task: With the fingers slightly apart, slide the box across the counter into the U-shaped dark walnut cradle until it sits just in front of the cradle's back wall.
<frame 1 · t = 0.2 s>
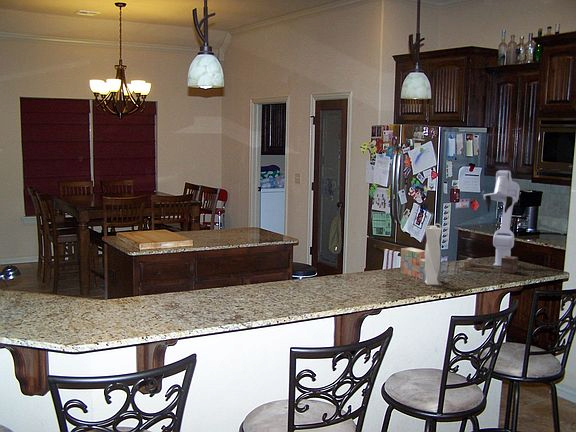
hand: (496, 210, 305), 31 cm above the breakfast bar, tool tilted 45°, fingers open, 7 cm apart
stack of blocks: (418, 276, 306), on the breakfast bar
cradle: (480, 268, 324), on the breakfast bar
skyscraper: (432, 284, 291), on the breakfast bar
box: (509, 272, 317), on the breakfast bar
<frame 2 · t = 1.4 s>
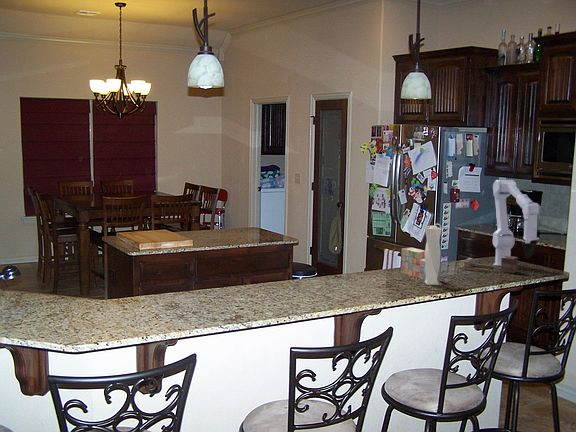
hand: (529, 256, 312), 9 cm above the breakfast bar, tool pointing down, fingers open, 7 cm apart
nothing on the breakfast bar moved.
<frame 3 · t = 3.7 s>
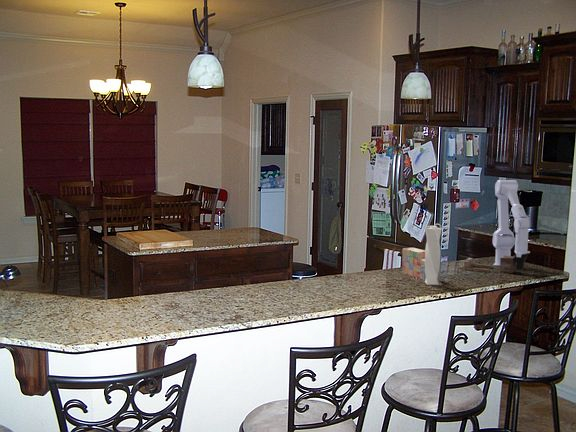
hand: (520, 269, 314), 2 cm above the breakfast bar, tool pointing down, fingers closed
box: (508, 272, 317), on the breakfast bar, touching gripper
everything else where it was.
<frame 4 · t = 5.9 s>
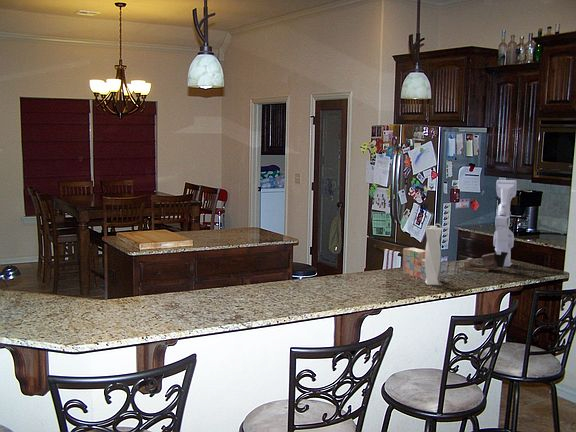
hand: (500, 267, 318), 2 cm above the breakfast bar, tool pointing down, fingers closed
box: (492, 269, 320), point 1 cm above the breakfast bar, touching gripper
everything else where it was.
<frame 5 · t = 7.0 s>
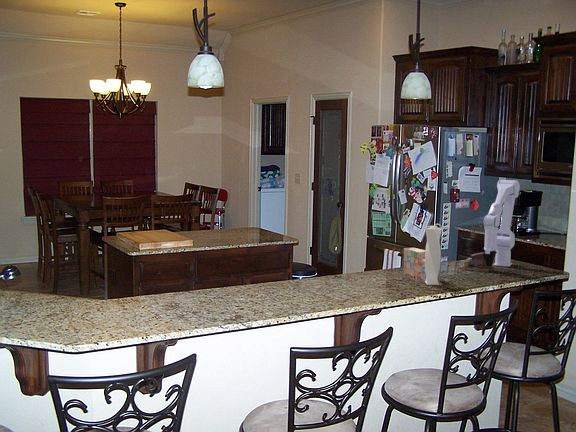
hand: (489, 266, 321), 2 cm above the breakfast bar, tool pointing down, fingers closed, pressing on box
box: (481, 268, 323), on the breakfast bar, touching gripper
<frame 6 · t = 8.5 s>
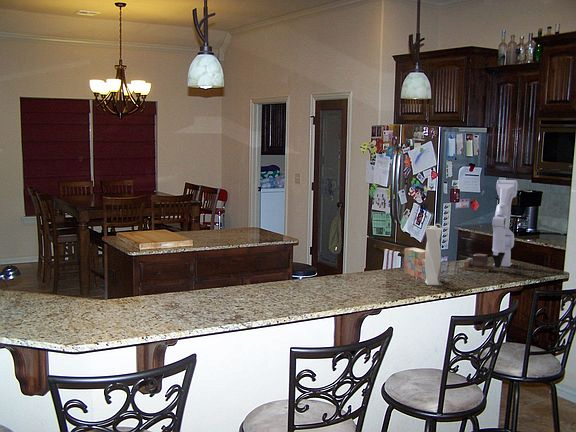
hand: (497, 267, 319), 2 cm above the breakfast bar, tool pointing down, fingers closed
stack of blocks: (421, 277, 305), on the breakfast bar, touching skyscraper
skyscraper: (432, 284, 290), on the breakfast bar, touching stack of blocks
box: (479, 269, 323), on the breakfast bar
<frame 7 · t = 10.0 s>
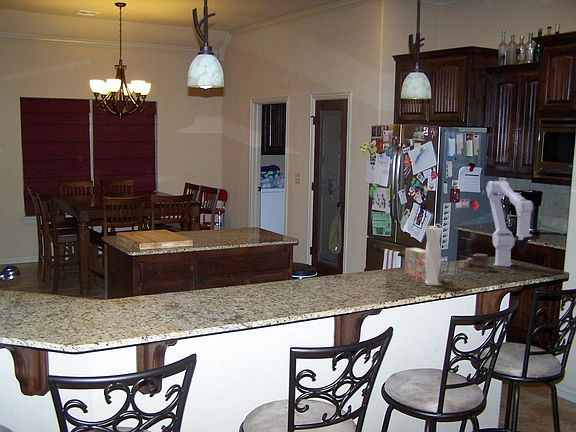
hand: (522, 252, 317), 9 cm above the breakfast bar, tool pointing down, fingers closed
stack of blocks: (422, 277, 305), on the breakfast bar
skyscraper: (432, 284, 290), on the breakfast bar
everything else where it was.
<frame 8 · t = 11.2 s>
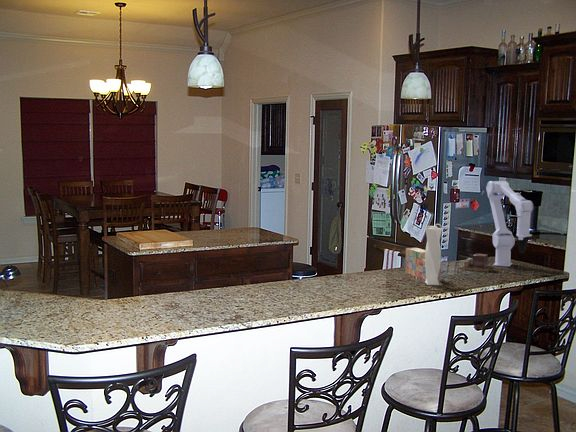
hand: (522, 252, 317), 9 cm above the breakfast bar, tool pointing down, fingers closed
nothing on the breakfast bar moved.
at the end: box 1.5 cm from the target spot on the cradle, point 0.0 cm above the cradle's base; box tilted 0°; the gripper is holding nothing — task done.
